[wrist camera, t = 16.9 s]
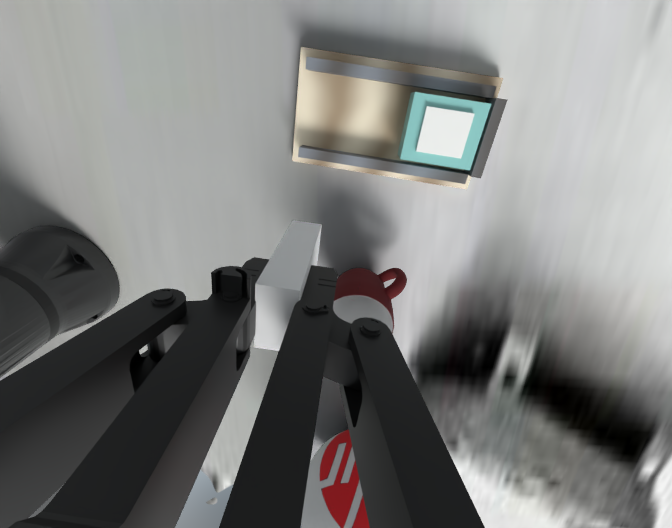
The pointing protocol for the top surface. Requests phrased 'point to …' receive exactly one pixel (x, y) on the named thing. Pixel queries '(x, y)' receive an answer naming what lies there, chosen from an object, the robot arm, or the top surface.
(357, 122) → the rail mount
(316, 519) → the decorative sphere
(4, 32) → the top surface
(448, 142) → the block
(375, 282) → the mug
